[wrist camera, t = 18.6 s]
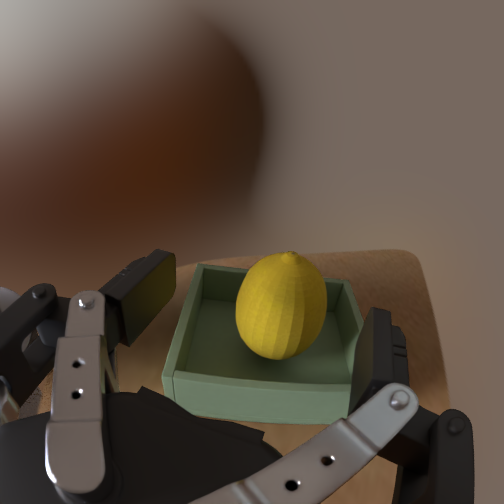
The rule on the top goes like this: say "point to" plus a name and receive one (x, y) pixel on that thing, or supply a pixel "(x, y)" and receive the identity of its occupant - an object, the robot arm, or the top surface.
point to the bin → (258, 358)
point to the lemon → (281, 306)
